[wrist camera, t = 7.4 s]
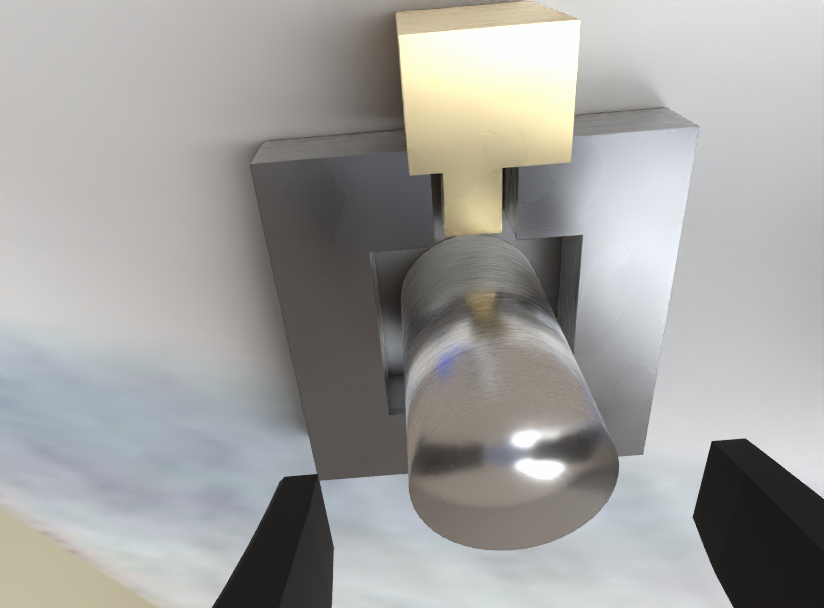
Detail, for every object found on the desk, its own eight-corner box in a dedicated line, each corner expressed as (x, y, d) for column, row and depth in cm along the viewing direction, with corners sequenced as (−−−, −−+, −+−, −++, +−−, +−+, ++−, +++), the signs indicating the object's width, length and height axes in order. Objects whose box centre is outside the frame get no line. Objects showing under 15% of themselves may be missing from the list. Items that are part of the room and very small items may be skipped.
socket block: (666, 107, 15) (699, 126, 13) (622, 415, 20) (642, 454, 18) (264, 141, 15) (249, 164, 13) (323, 439, 20) (318, 480, 18)
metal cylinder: (540, 228, 16) (630, 392, 10) (535, 348, 18) (608, 542, 12) (395, 240, 16) (400, 411, 10) (406, 358, 18) (416, 557, 12)
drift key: (530, 0, 13) (580, 20, 10) (524, 211, 16) (562, 284, 12) (395, 11, 13) (398, 35, 10) (412, 220, 16) (418, 296, 12)
